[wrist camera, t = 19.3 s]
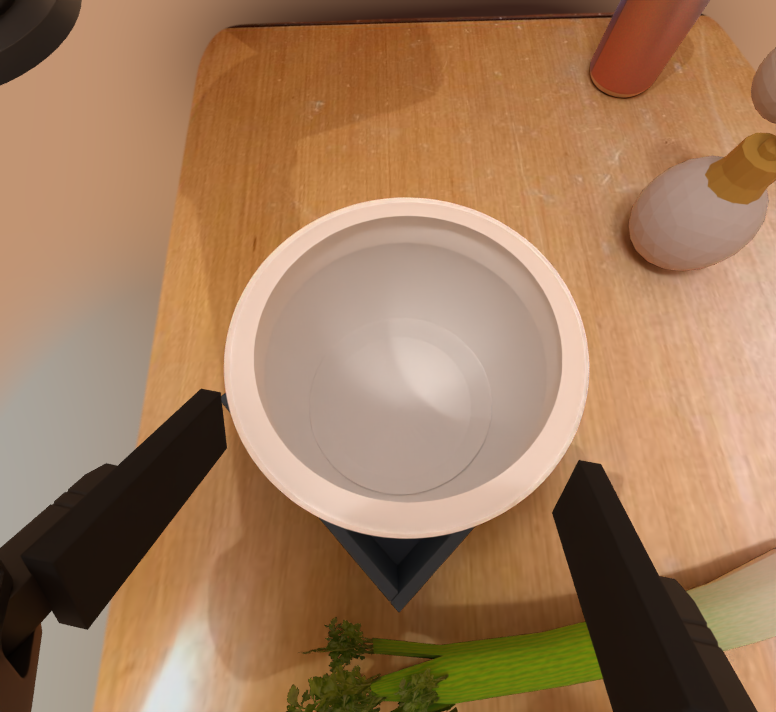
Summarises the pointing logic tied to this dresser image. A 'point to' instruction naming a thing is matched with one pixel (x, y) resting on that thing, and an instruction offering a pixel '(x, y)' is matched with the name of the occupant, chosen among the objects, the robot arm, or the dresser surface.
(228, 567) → the dresser surface
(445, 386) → the jar
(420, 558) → the tray
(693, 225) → the perfume bottle
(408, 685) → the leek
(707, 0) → the beverage can
